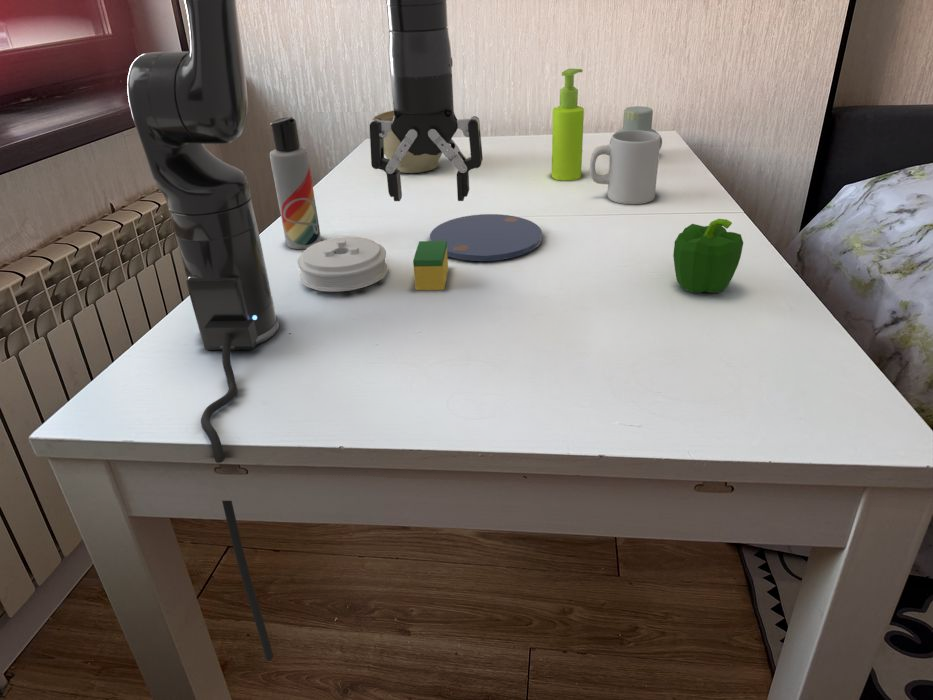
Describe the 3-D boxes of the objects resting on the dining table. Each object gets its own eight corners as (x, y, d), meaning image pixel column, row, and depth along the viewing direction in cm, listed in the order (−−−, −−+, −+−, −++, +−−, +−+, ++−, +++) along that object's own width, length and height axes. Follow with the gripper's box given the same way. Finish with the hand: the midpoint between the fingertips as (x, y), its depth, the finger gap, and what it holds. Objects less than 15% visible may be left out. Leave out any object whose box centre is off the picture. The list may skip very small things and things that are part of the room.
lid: (284, 291, 99) (277, 258, 96) (330, 257, 109) (325, 226, 106) (362, 302, 95) (357, 269, 92) (403, 266, 105) (400, 234, 102)
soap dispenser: (587, 172, 141) (592, 67, 131) (573, 182, 136) (577, 73, 126) (561, 169, 144) (564, 66, 134) (546, 178, 139) (548, 72, 129)
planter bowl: (410, 154, 159) (406, 104, 154) (467, 163, 151) (465, 111, 145) (362, 172, 148) (355, 119, 143) (420, 183, 140) (416, 128, 134)
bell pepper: (656, 281, 96) (664, 212, 91) (704, 269, 99) (714, 201, 94) (696, 306, 90) (707, 233, 85) (747, 292, 92) (760, 221, 87)
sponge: (444, 289, 97) (442, 260, 95) (415, 290, 97) (412, 260, 95) (448, 269, 103) (446, 240, 101) (421, 269, 103) (419, 241, 101)
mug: (650, 188, 131) (655, 129, 125) (659, 204, 123) (665, 141, 118) (586, 190, 131) (588, 131, 126) (590, 205, 124) (593, 143, 118)
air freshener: (633, 148, 155) (637, 102, 150) (665, 155, 150) (670, 106, 144) (603, 159, 149) (606, 111, 144) (635, 166, 143) (639, 116, 138)
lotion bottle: (313, 250, 112) (292, 122, 101) (280, 249, 113) (256, 122, 102) (326, 237, 116) (307, 113, 106) (294, 236, 117) (273, 113, 107)
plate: (543, 262, 104) (543, 254, 103) (424, 263, 105) (423, 256, 105) (540, 219, 119) (540, 212, 119) (436, 221, 121) (435, 214, 120)
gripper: (356, 75, 82) (371, 208, 90) (476, 72, 81) (480, 208, 89) (370, 66, 89) (383, 191, 97) (481, 63, 87) (485, 190, 95)
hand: (429, 199), depth 93 cm, fingers open, 8 cm apart
